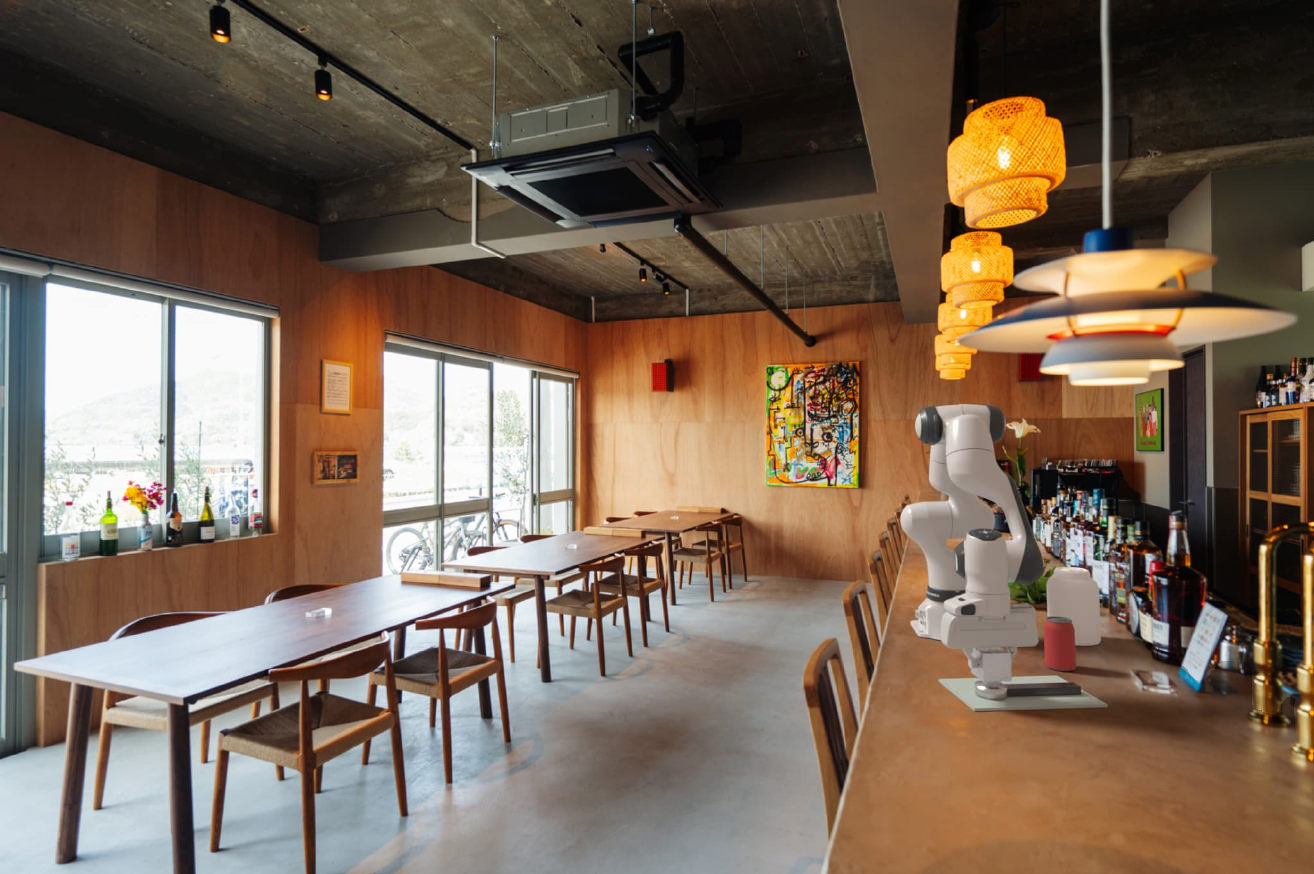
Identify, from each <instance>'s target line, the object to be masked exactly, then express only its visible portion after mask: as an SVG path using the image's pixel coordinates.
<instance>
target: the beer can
mask: <svg viewBox="0 0 1314 874" xmlns="http://www.w3.org/2000/svg"><path fill="white" fill-rule="evenodd" d="M1043 643H1044V645H1043V646H1044V664H1045V666H1046V667H1047V668H1049V669H1051V670H1053V671H1057V672H1072V671H1075V670H1076V668H1077V659H1076V657H1077V656H1076V653H1077V652H1076V646H1075V629H1074V626H1073V624H1072V620H1071V619H1069V618H1065V617H1056V616H1051V617H1048V616H1046V618H1045V622H1044V624H1043Z"/></svg>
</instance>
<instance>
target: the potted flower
mask: <svg viewBox="0 0 1314 874" xmlns="http://www.w3.org/2000/svg"><path fill="white" fill-rule="evenodd" d="M1043 560H1044V573H1043V575H1042V576H1041V577H1040V578H1039V579H1038V580H1037V581H1036V582H1034V583H1032V584H1031V585H1023V584H1014V583H1008V586H1009V589H1010V599H1014V600H1017V601H1020V602H1021V603H1028V604H1029V605H1031V606H1033V607H1034V608H1035V609H1047V581H1048V579H1049V578H1050V577H1051V576H1053V575H1054V570H1055V568H1059V567H1061V565H1060V563H1057V564H1056V565H1054V566H1052V568H1049V569H1048V571H1046V572H1045V570H1046V568H1047V566H1048V564H1050V562H1052V560H1051V559H1050V558H1049V557H1046V556H1043Z"/></svg>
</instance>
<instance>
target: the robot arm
mask: <svg viewBox="0 0 1314 874" xmlns="http://www.w3.org/2000/svg"><path fill="white" fill-rule="evenodd" d="M916 416H917V417H916V419H915V423H914V428H915V429H914V430H915V432H916V436H917V437H918V440H919V441H920V442H922V444H924V445H925V444H926V445H929V446H930V451H929V452H930V454H929V466H928V468H929V469H928V480H929V484H930V485H931V487H932V488H933V489H934V490H936V491H938V492H940V493H941V494H945V495H946V496H947V497H948V500H945V501H921V502H920V501H919V502H915V503H911V504H907V505H905V507H904V508H903V510H902V512H901V514H900V517H899V521H900V526H901V530H902V531H903V532H904V534H905V535H906V536H907V537H908V538H910V539H911V540H913V541H914V542H915V543H916V544H917V545H918V546H919V547H920V549H921V550H922V552H923V554H924V557H925V561H926V565H927V574H928V585H927V586H926V594H925V596H926V598H925V599H924V600H923V602H922V603H920V604H919V605H918V608H917V609H915V610H914V616H915V618H917V619H913V620H911V621H910V626H911V628H912V629H913V630H914V632H915V634H916V635H917V636H918V637H920V638H928V639H933V640H937V641H941V643H942V644H943V645H944V646H945V647H946V648H948V649H951V650H953V649H954V650H956V649H957V650H959V649H962V651H963V652H962V653H964V655H965V657H967V664H968V667H969V668H970V669H971V668H978V667H979V665H978V664H979V663H978V660H977V659H975V658H973V656H972V655H971V653H973V648H996V647H1001V648H1005V650H1007V651H1008V652H1010V653H1011V668H1013V660H1014V658H1015V656H1016V655H1017V653H1018V647H1019V648H1020V647H1021V648H1025V647H1028V648H1029V647H1036V646H1037V645H1038V643H1039V640H1040V639H1039V634H1038V633H1039V632H1038V627H1037V622H1036V620H1037V612H1036V610H1037V609H1036V608H1034V607H1033V606H1031V605H1029V604H1028V603H1018V602H1017V603H1016V602H1011V598H1010V589H1009V586H1008V583H1014V584H1023V585H1031V584H1032V583H1034V582H1036V581H1037V580H1038V579H1039V578H1040V577H1041V576H1042V575H1043V576H1044V574H1045V571H1044V560H1043V557H1044V556H1043V553H1042V552H1041V549H1040V547H1039V545H1038V541H1037V539H1036V538H1035V535H1034V533H1033V529H1032V527H1031V524H1030V521H1029V518H1028V514H1027V511H1026V509H1025V506H1024V502H1023V500H1022V497H1021V494H1020V491H1019V489H1018V487H1017V484H1016V482H1015V481H1014V478H1013V477H1012V476H1011V475H1009V474H1006V473H1005V472H1004V471H1003V470H1002V469H1001V467H1000V466H999V464H998V462H997V460H996V455H995V448H994V444H997V443H999V442H1000V440H1002V439H1003V437H1004V434H1005V431H1006V428H1007V424H1006V423H1007V421H1006V418H1005V415H1004V412H1003V410H1002V409H1001V408H1000V407H999V406H996V405H992V404H991V405H990V404H984V405H980V404H970V403H959V404H951V405H950V404H948V405H939V406H935V405H930V406H924V407H923V408H921V409H920V410H919V411H918V414H917V415H916ZM979 497H981V498H983V499H984V498H985V499H987V500H988V501H992V502H993V503H995V504H997V505H998V506H999V507H1000V508H1001V509H1002V511H1003V513H1004V515H1005V519H1006V521H1007V525H1008V529H1009V532H1010V534H1011V538H1012V539H1010V540H1007V539H1006V537H1005V535H1004V534H1003V532H1000V531H999V530H996V529H994V528H995V524H996V517H995V513H994V511H993V510H992V509H991V507H990V506H989V505H988V504H987V503H985V502H983V500H981V499H980V498H979ZM948 540H963V541H961V542H960V543H959V544H958V545H956V546H955V547H954V549H951V548H949V547H948V543H947V541H948ZM1043 573H1044V574H1043Z"/></svg>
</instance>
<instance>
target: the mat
mask: <svg viewBox="0 0 1314 874" xmlns="http://www.w3.org/2000/svg"><path fill="white" fill-rule="evenodd" d="M1011 677H1012V681H1001V683H1003V684H1028V683H1062V682H1068V680H1065V679H1064V678H1062V677H1060V676H1059V675H1032V676H1031V675H1028V676H1027V675H1025V676H1024V675H1023V676H1011ZM980 680H981V679H979V678H978V677H966V678H963V677H962V678H938V683H939V684H941V686H943V687H944V688H946V689H947V690H949V691H950V692H951V693H952V694H953V695H954V696H955V697H957V698H958V699H959V700H960V701H962V702H963V704H965V705H967V706H968V708H969V709H971V710H972V711H974V712H991V711H992V712H995V711H996V712H997V711H1026V710H1032V711H1033V710H1055V709H1056V710H1059V709H1089V708H1090V709H1091V708H1093V709H1094V708H1095V709H1096V708H1097V709H1098V708H1108V707H1109V706H1108V703H1107V702H1104V701H1102V700H1101V699H1099V698H1097V697H1095V696H1093V695H1092V694H1091V693H1088V692H1087V691H1085V690H1083V689H1082V688H1081V695H1061V696H1028V697H1007V699H1005V700H1000V701H994V700H987V699H983V698H980V697H978V696H977V695H976V694H975V682H976V681H980Z"/></svg>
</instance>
